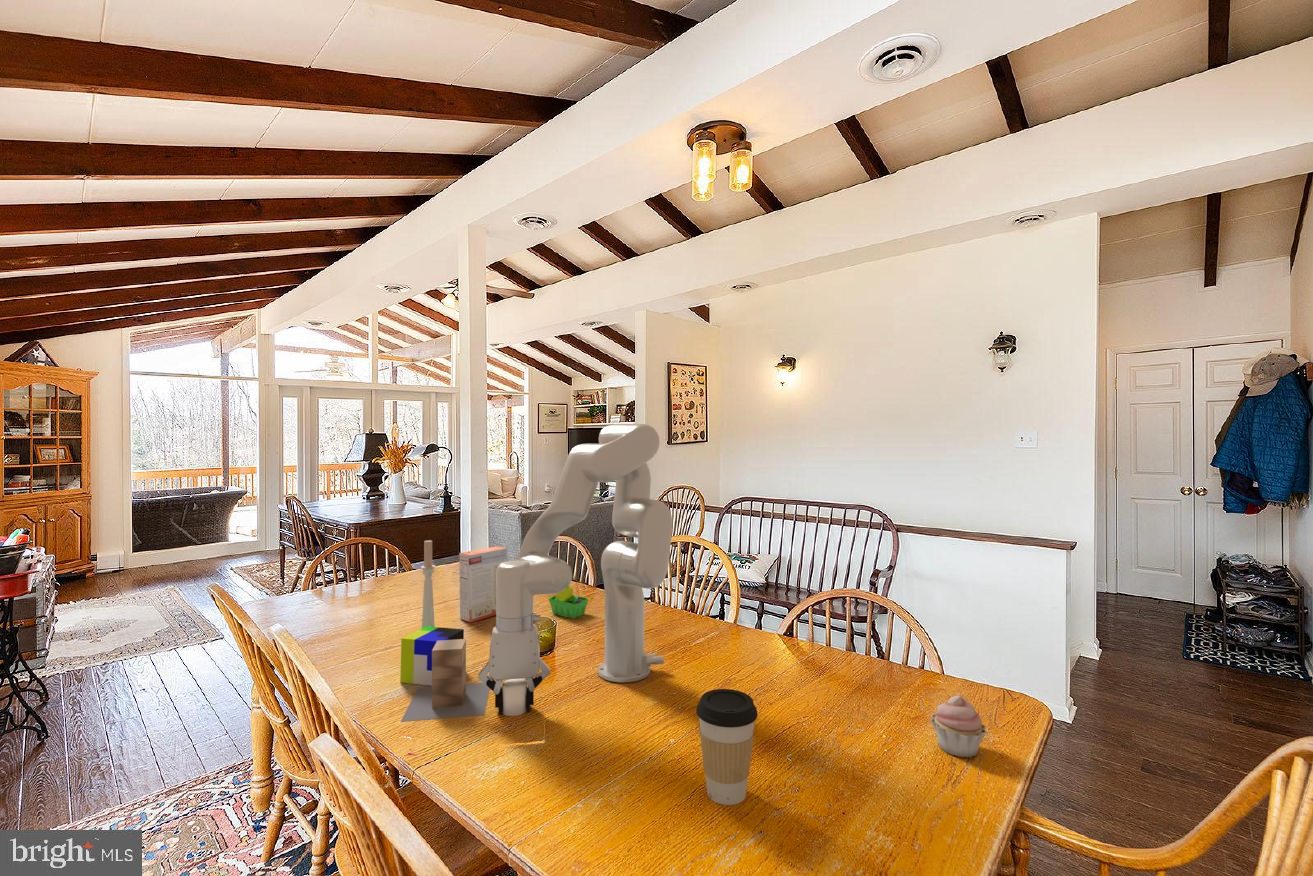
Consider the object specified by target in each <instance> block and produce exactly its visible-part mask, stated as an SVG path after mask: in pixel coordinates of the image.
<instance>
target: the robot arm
mask: <svg viewBox="0 0 1313 876" xmlns="http://www.w3.org/2000/svg"><path fill="white" fill-rule="evenodd" d="M660 444H661V443H660V436H659V433H658V432H657V430H656V429H655V428H654V427H653V426H651V425H649V424H644V423H615V424H609V425H606V426H604V427H603V428H602V429H601V430H600V432H599V435H598V443H581V444H577V445H575V446H574V447H572V448H571V450H570V452H569V453H568V456H567V458H566V459H565V460H566V461H565V464H564V466H563V469H562V472H561V474H560V477H559V480H558V483H557V485H556V488H555V491H554V494H553V497H552V499H551V501H550V503H549V505H548V507H547V508H546V509H545V510H544V511H543V512H542V513H541V515H540V516H539V517H538V518H537V520H535V522H534V523H533V524H532V525H531V526H530V528H529V530H528V531H527V532H526V534H525V537H524V539H523V541H522V544H521V546H520V549H519V552H518V554H517V559H515V560H507V562H503V563H501V564H500V565H499V566H498V567H497V570H496V615H495V626H494V627H493V628H492V631H491V637H490V643H489V644H490V645H489V655H488V656H489V657H488V661H487V663H486V664H485V665H484V667H483V668H482V669H481V670H480V671H479V673H478V675H477V679H478V680H479V681H480V682H481V683H485V684H486V685H487V686H488V687H489V688H490V690H491V691H492V692H493V695H494V708H495V709H497V708H498V715H499V714H500V715H501V714H503V713H502V684H503V682H504V681H506V680H509V679H525V680H526V681H527V692H526V712H530V711H531V706H534V701H535V700H534V697H535V694H534V692H535V690H536V689H537V687H538V686H539V685H540V684H541V683H542V682H543V680H545V679H546V678H547V677H549V676H550V675H551V668H550V667H549V666H548V665H547V664H546V662H545V661H544V660H543V659H542V658H541V655H540V654H541V653H540V652H541V651H540V649H541V648H540V637H539V632H538V631H539V630H538V625H537V624H535V623H539V622H541V614H535V613H534V596H536V595H539V596H541V595H556V593H559V592H562V591H563V590H565V589H566V588H567V587H568V586H570V584H571V582H572V580H573V570H572V567H571V566H570V565H569V564H568V563H567V562H566V561H565V560H563V559H561V558H558V557H556V556H555V557H554V556H552V555H550V551H551V549H552V546H553V545H554V544H555V543H554V542H556V539H557V538H558V537H559V536H560V535H561V534H562V533H563V532H564V531H566V530H567V529H569V528H571V527H572V526H575V525H577V524H579V523H581V522H582V521H583V520H585V519H586V518H587V516H588V515H589V511H590V508H591V506H592V502H593V499H594V496H595V493H596V491H597V488H598V485H599V483H605V484H606V483H613V482H615V490H614V497H613V507H612V508H613V509H612V516H611V525H612V526H613V529H614V531H615V532H617V534H618V533H619V534H620V535H623V536H626V537H627V536H628V537H630V538H631V537H632V538H635V539H637V542H632V541H626V540H618V541H617V540H616V541H613V542H611V543H610V544H608V545H607V546H606V547H605V548H604V550H603V552H602V554H601V558H600V569H601V574H602V579H603V586H604V587H603V588H604V661H603V662H601V663H600V664H599V665H598V668H597V669H598V671H597V672H598V675H599V676H600V678H602V679H604V680H606V681H608V682H613V683H632V682H638V681H642V680H643V679H645V678H647V677H649V675H650V674H651V666H652V665H663V664H664V655H657V653H647V652H646V651H645V595H644V594H645V593H644V590H643V589H646V590H648V589H649V590H651V589H655V588H658V587H659V586H660V585H661V584H662V583H663V582H664V580H665V579H666V576H667V573H668V570H669V561H670V553H671V545H672V536H673V535H672V534H673V516H672V513H671V510H670V508H669V507H668V505H667V504H665V502H663V501H661V500H658V499H652V498H651V497H650V496H651V495H650V494H651V480H652V479H651V478H652V477H651V472H650V468H649V465H648V462H649V461H651V460H652V459H653V458H654V457H655V455H656V454H657V453H658V450H659V448H660ZM540 670H541V671H540ZM539 672H540V673H539ZM488 674H489V675H488Z"/></svg>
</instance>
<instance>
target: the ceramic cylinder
mask: <svg viewBox="0 0 1313 876" xmlns="http://www.w3.org/2000/svg"><path fill="white" fill-rule="evenodd" d="M501 687H502V713H501V714H503V715H504V716H506V717H507V716H508V717H516V716H517V717H518V716H521V715H523V714H525V713H526V712H527V711H526V692H527V687H528V685H527V681H526V679H525V678H521V679H507V680H504V681H503V682H502V685H501Z"/></svg>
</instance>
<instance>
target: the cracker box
mask: <svg viewBox="0 0 1313 876" xmlns="http://www.w3.org/2000/svg"><path fill="white" fill-rule="evenodd" d="M458 554H459V555H458V557H459V559H458V560H459V561H458V562H459V566H458V567H459V619H460V620H462V621H464V622H467V623H473V622H478V621H481V620H484V619H489V618H490V617H494V616H495V617H496V570H497V567H498V566H499V565H500V564H501V563H503V562H507V561H508V549H507V547H502V546H498V545H496V546H491V547H486V548H485V547H484V548H481V549H480V548H479V549H475V550H470V551H469V550H468V551H464V552H459V553H458Z"/></svg>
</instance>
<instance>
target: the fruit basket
mask: <svg viewBox="0 0 1313 876" xmlns="http://www.w3.org/2000/svg"><path fill="white" fill-rule="evenodd" d="M573 593H574V588H573V587H572V586H570V585H569V586H568V587H567V588H566V589H565V590H563V591H562V592H559V593H556V594H555V595H553V596H550V597H548V601H549V603H550V606H551V607H550V608H551V612H552V614H554V615H558V616H560V617H561V616H562V617H566V618H570V619H576V618H579V617H581V616H584V615H585V612H586V609H587V605H588V602H589V598H588V597H585V596H580V595H577V594H573Z"/></svg>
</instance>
